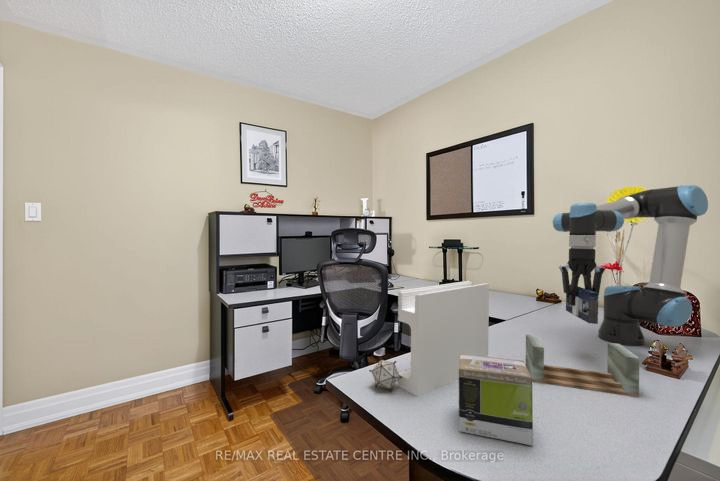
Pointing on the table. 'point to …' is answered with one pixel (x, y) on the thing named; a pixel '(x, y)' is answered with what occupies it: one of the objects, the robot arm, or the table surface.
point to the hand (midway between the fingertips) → (580, 315)
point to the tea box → (495, 398)
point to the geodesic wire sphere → (385, 374)
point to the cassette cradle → (616, 380)
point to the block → (442, 331)
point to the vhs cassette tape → (585, 305)
